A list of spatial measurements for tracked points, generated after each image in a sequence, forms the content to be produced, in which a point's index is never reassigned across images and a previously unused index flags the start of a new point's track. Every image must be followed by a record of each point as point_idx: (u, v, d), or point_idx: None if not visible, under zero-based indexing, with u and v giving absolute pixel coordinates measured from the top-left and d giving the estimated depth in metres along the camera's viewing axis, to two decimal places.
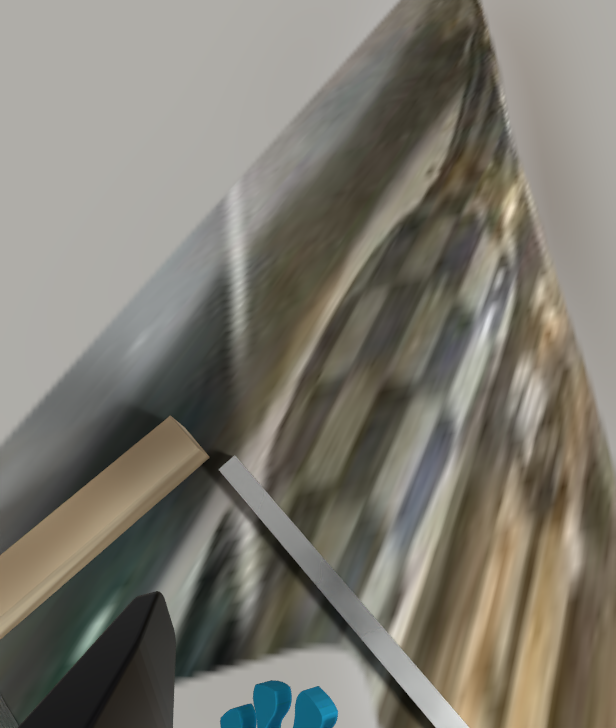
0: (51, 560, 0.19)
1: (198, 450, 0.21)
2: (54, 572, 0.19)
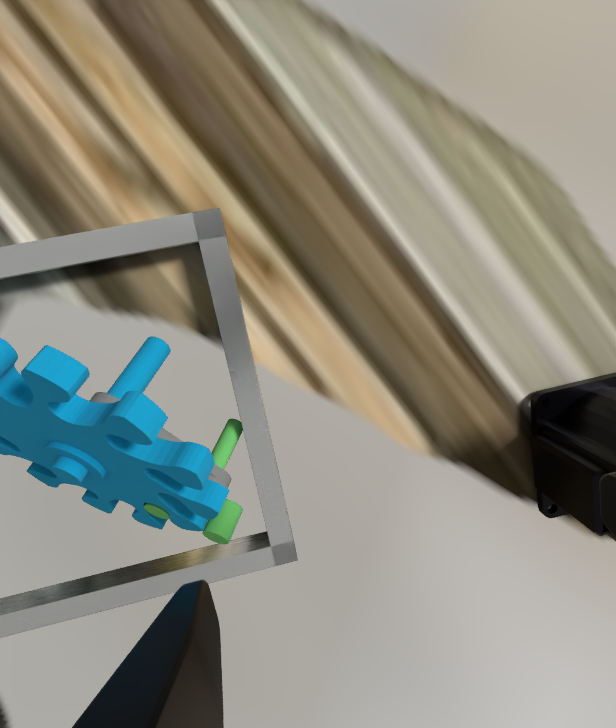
0: None
1: None
2: None
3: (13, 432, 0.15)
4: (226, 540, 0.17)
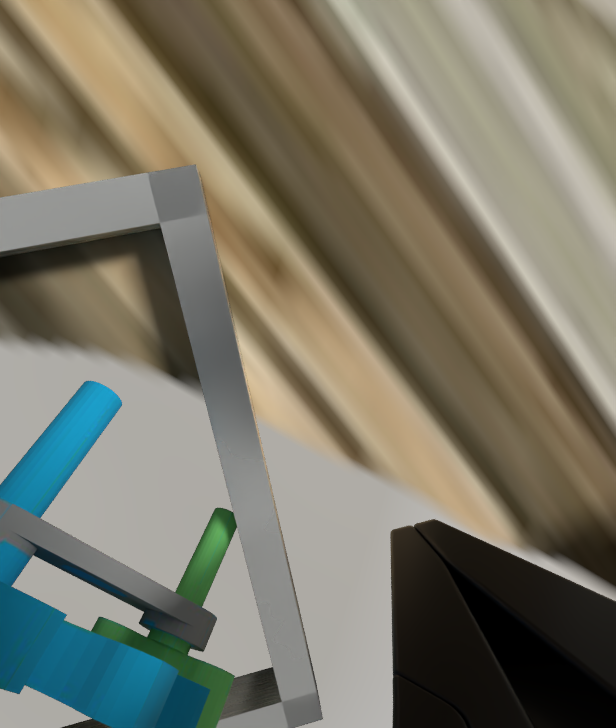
0: None
1: None
2: None
3: None
4: None
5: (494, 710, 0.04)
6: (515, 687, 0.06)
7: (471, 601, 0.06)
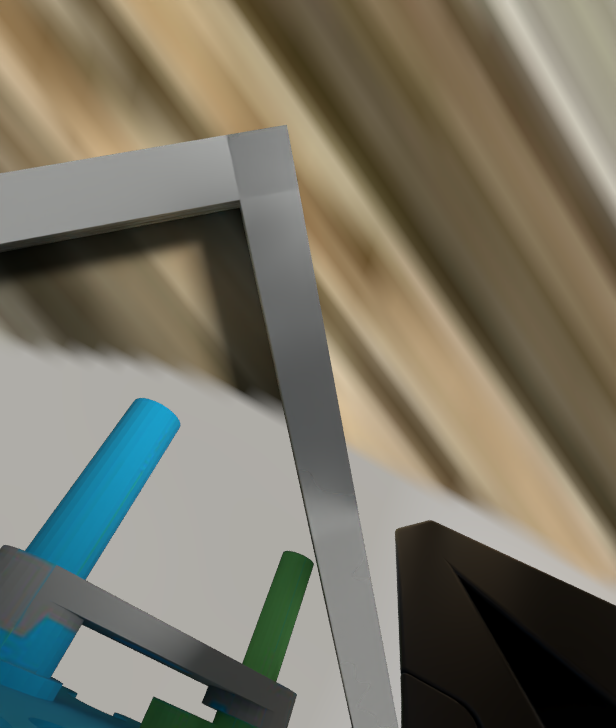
0: None
1: None
2: None
3: None
4: None
5: (503, 707, 0.04)
6: None
7: None
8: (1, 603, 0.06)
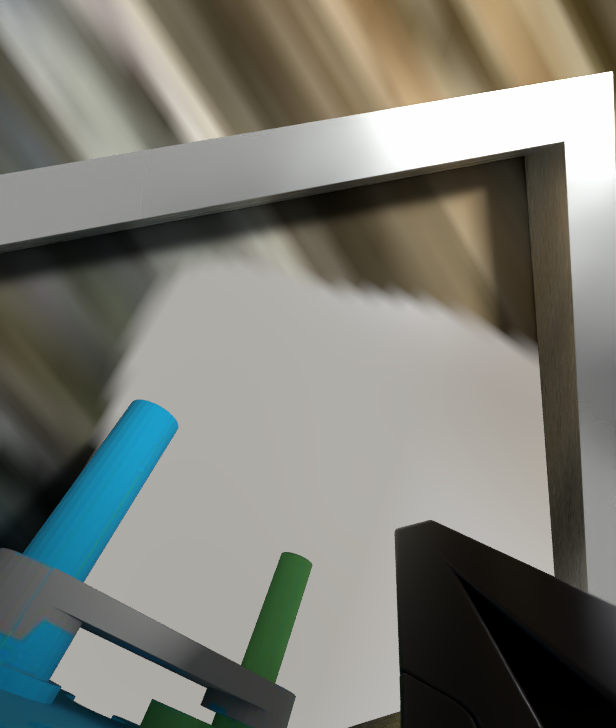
0: None
1: None
2: None
3: None
4: None
5: (502, 707, 0.04)
6: None
7: None
8: None
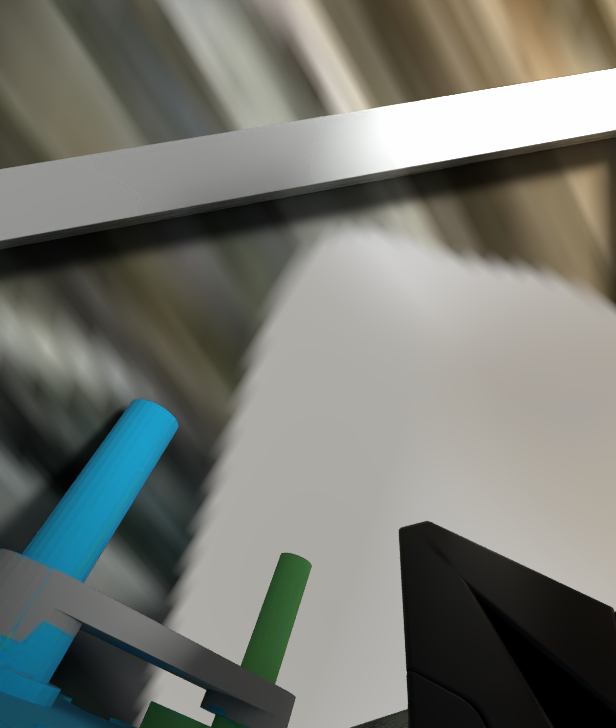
0: None
1: None
2: None
3: None
4: None
5: (510, 705, 0.04)
6: None
7: None
8: None
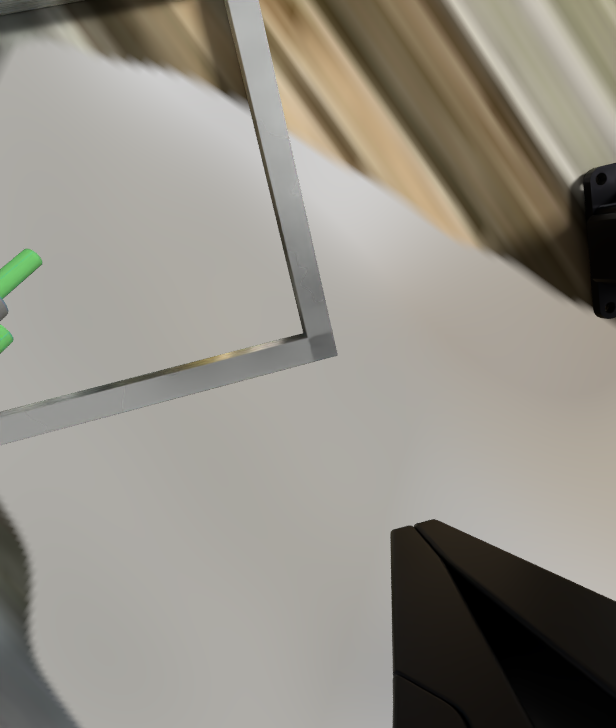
0: None
1: None
2: None
3: None
4: None
5: (494, 710, 0.04)
6: (515, 687, 0.06)
7: (471, 601, 0.06)
8: None
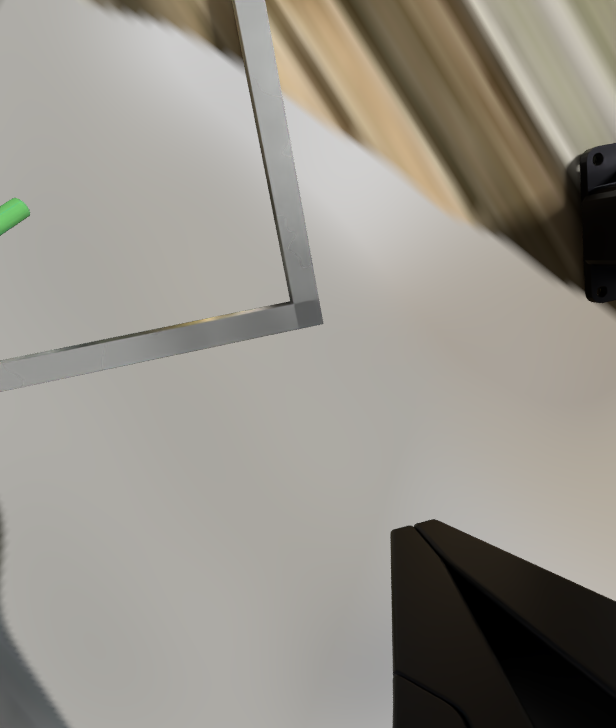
0: None
1: None
2: None
3: None
4: None
5: (494, 710, 0.04)
6: (515, 687, 0.06)
7: (471, 601, 0.06)
8: None
